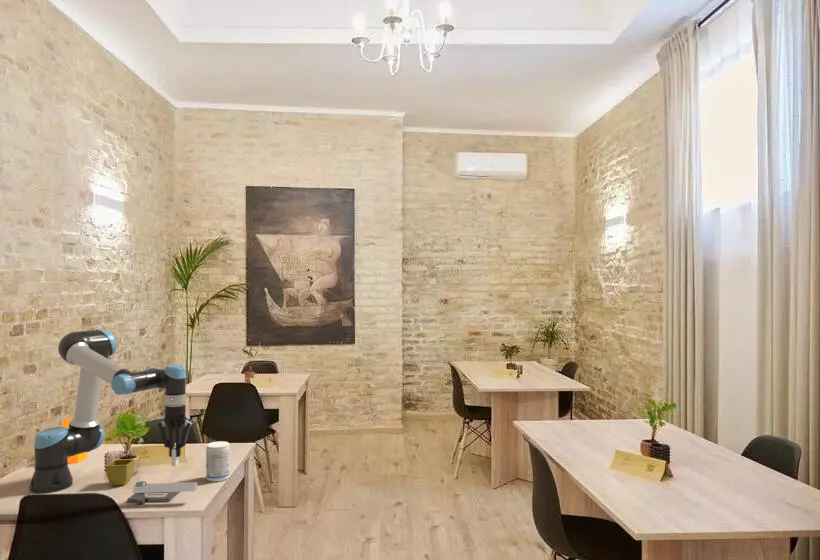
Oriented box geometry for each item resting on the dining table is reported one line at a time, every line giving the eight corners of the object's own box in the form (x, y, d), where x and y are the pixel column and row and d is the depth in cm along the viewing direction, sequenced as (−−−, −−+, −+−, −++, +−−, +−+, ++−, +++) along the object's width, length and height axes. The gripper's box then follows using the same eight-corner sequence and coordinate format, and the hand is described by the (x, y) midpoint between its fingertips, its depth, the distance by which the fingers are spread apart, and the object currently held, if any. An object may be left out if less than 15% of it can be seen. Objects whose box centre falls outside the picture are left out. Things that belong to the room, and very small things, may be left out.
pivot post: (135, 504, 221) (135, 494, 221) (139, 502, 224) (139, 491, 224) (143, 504, 221) (143, 494, 221) (146, 502, 224) (146, 491, 224)
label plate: (127, 502, 224) (127, 498, 224) (142, 490, 237) (142, 486, 237) (169, 501, 224) (169, 497, 224) (182, 489, 237) (182, 486, 237)
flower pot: (114, 480, 250) (114, 459, 250) (135, 480, 250) (135, 458, 250) (105, 487, 241) (105, 465, 241) (127, 487, 241) (127, 465, 241)
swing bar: (132, 493, 221) (132, 484, 221) (136, 490, 224) (136, 481, 224) (194, 491, 222) (194, 482, 222) (197, 488, 225) (197, 479, 225)
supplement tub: (205, 476, 253) (205, 442, 253) (228, 473, 257) (228, 440, 257) (207, 483, 244) (207, 448, 244) (231, 480, 248) (230, 445, 248)
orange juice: (69, 458, 283) (69, 416, 284) (87, 458, 283) (87, 416, 283) (59, 463, 276) (58, 420, 276) (77, 463, 275) (77, 420, 275)
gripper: (154, 406, 227) (154, 467, 227) (188, 406, 227) (188, 468, 227) (162, 402, 235) (162, 461, 235) (195, 402, 235) (195, 462, 235)
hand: (175, 464), depth 231 cm, fingers closed
